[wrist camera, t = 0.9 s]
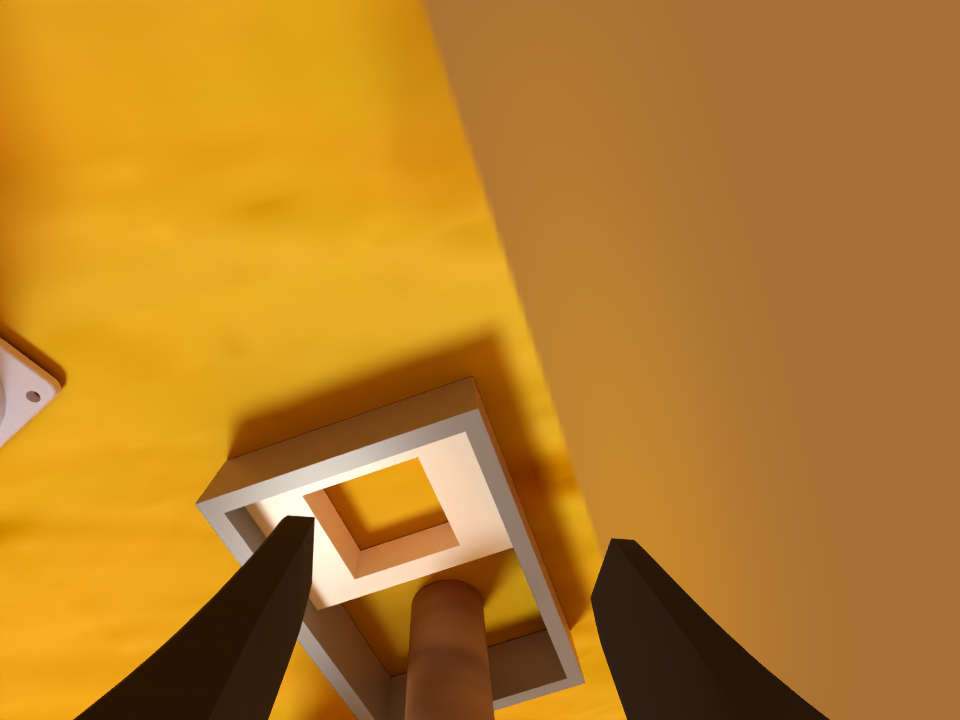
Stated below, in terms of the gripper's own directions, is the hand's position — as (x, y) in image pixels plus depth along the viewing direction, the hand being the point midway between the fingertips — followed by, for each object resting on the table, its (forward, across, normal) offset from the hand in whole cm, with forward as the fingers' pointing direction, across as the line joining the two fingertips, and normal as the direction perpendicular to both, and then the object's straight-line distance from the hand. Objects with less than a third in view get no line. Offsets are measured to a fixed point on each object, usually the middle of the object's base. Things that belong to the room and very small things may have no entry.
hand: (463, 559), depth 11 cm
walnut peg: (+10, -2, +14) cm, 17 cm away
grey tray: (+10, 0, +10) cm, 15 cm away
